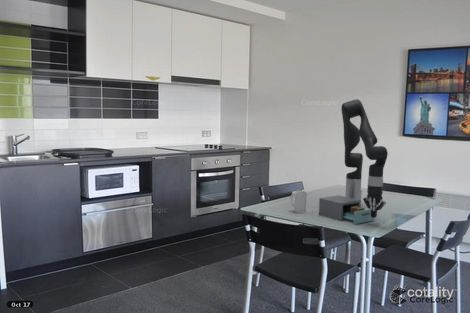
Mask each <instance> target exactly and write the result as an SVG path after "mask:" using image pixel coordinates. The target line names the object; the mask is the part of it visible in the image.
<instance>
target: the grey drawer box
mask: <svg viewBox="0 0 470 313" xmlns="http://www.w3.org/2000/svg"><path fill="white" fill-rule="evenodd" d="M318 201H319V205H318V206H319V207H318V208H319V209H318V216H323V217H325V216H326V218H329V217H330V218H329V219H333V220H336V219H337V221H341V222H342V221H346V220H348V219H346V218H343V212H348V211H350V212H351V207H356V206H358V207H362V206H361V205H362V199H361V200H358V199H353V198H349V197H345V196H343V195H339V194H337V195H333V196H332V195H331V196H325V197H319V200H318Z"/></svg>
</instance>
